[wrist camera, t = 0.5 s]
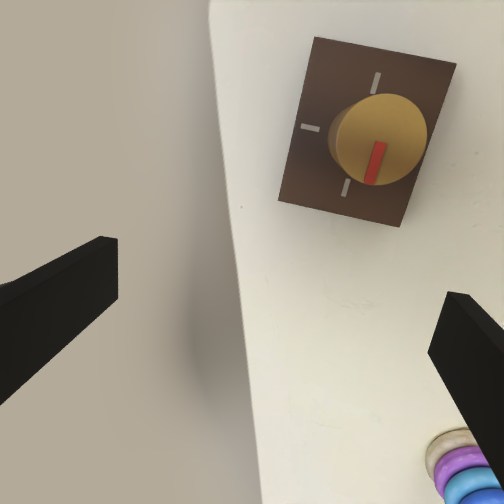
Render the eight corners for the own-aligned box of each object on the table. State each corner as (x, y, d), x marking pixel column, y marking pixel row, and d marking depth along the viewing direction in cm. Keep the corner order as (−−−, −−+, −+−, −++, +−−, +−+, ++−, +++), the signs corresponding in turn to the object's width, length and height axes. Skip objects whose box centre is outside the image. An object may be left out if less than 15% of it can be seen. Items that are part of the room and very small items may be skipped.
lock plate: (313, 45, 28) (314, 35, 25) (441, 69, 28) (458, 62, 25) (280, 194, 32) (277, 201, 29) (391, 219, 32) (400, 228, 29)
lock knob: (336, 97, 27) (350, 84, 19) (402, 110, 26) (443, 102, 18) (320, 163, 28) (326, 176, 20) (381, 176, 28) (411, 194, 20)
